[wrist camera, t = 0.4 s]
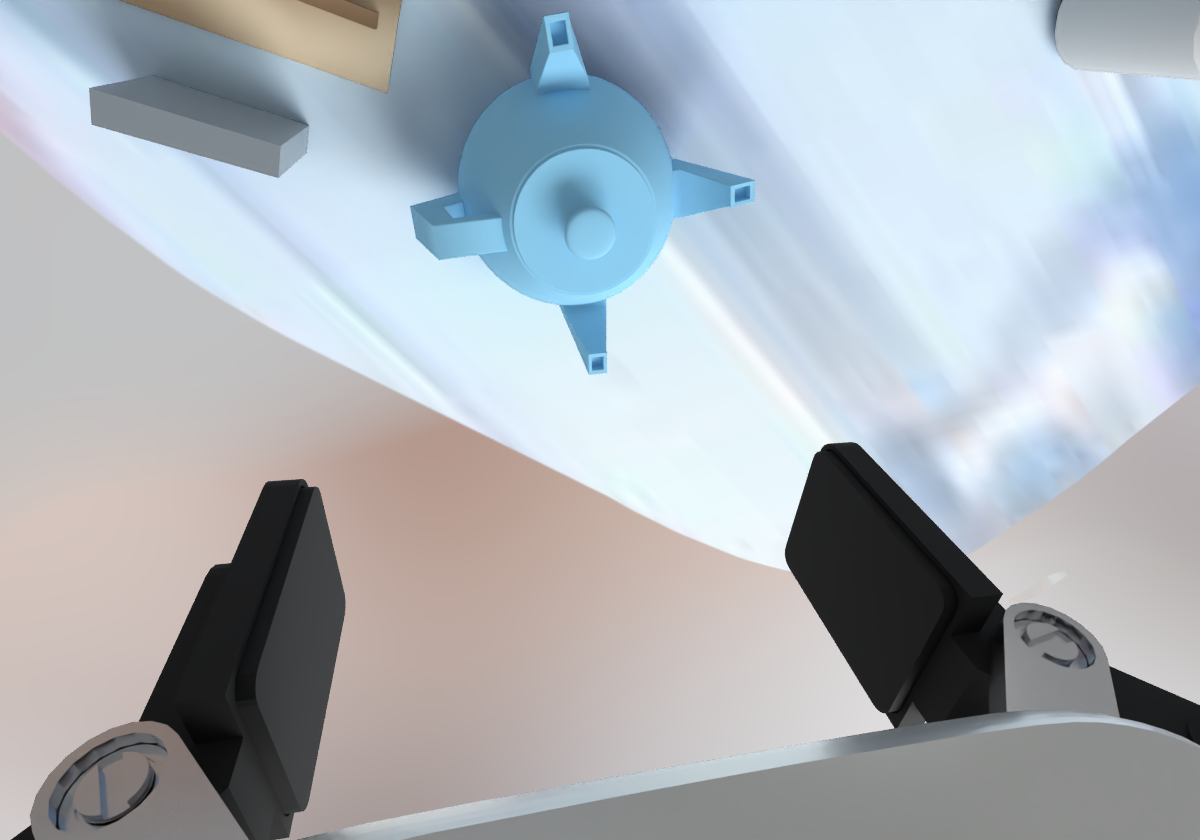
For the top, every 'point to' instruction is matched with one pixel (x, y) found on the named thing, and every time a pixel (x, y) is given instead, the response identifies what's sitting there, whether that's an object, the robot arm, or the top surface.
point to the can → (1131, 36)
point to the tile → (199, 124)
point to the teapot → (569, 190)
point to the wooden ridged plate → (302, 31)
